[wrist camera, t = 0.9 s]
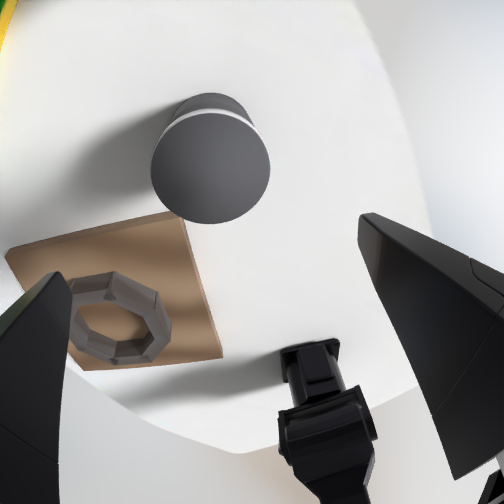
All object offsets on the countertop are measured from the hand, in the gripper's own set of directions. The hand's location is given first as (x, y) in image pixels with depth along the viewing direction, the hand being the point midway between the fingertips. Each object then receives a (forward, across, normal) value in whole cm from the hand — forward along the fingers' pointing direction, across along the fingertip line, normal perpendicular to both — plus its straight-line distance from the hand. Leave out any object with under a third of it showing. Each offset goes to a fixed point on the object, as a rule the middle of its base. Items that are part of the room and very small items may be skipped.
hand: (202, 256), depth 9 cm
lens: (+13, 0, 0) cm, 13 cm away
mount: (+13, +11, +13) cm, 21 cm away
